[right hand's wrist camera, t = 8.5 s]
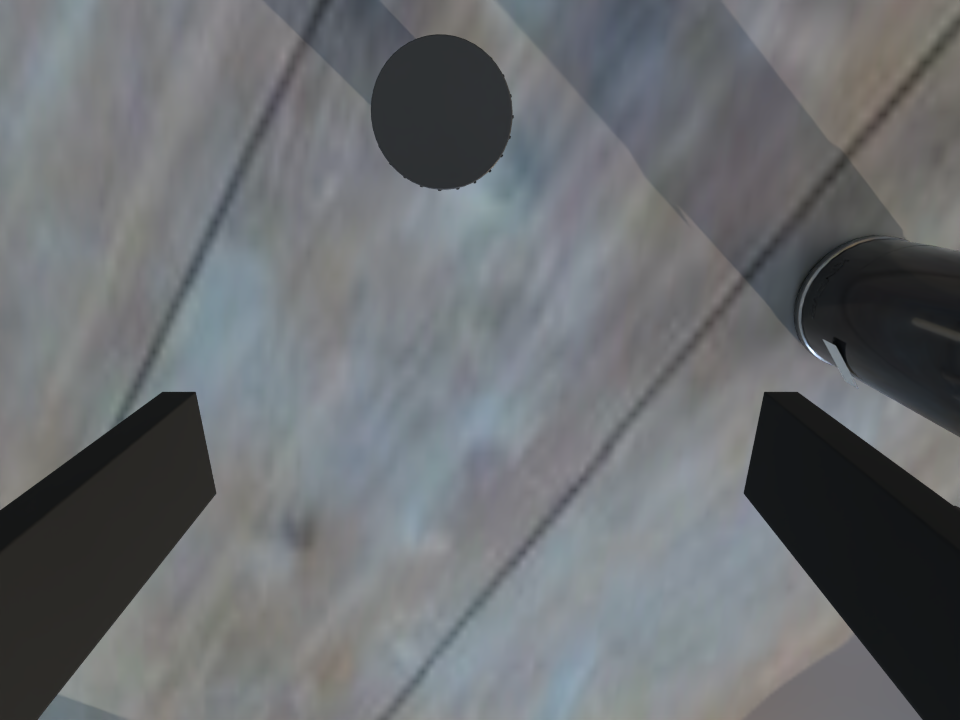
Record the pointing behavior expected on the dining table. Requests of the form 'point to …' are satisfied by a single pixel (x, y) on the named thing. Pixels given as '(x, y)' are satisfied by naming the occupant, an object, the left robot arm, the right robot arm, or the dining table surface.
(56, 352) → the dining table surface
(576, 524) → the dining table surface
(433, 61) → the cap
